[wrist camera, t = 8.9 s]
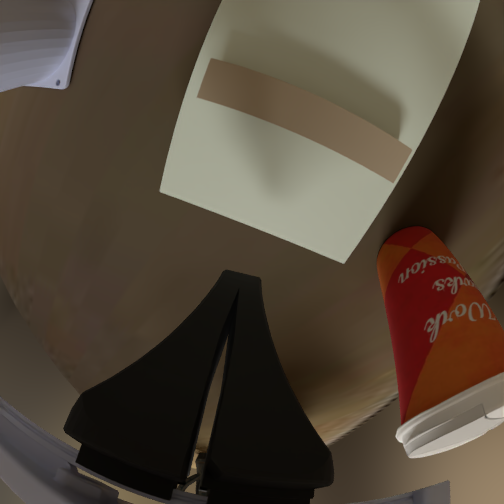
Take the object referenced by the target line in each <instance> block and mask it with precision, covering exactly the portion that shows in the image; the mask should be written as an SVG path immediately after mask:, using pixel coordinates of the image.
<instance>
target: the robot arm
mask: <svg viewBox="0 0 504 504" xmlns="http://www.w3.org/2000/svg"><path fill="white" fill-rule="evenodd" d="M92 2H93V0H0V92H3V91H6V90H9V89H13V88H16V87H20V86H36V87H46V88H55V89H65V88H67V87H68V86H69V83H70V78H71V73H72V68H73V64H74V60H75V56H76V52H77V48H78V44H79V41H80V37H81V34H82V31H83V27H84V24H85V21H86V18H87V15H88V13H89V10H90V7H91V5H92ZM59 81H60V84H59ZM228 334H229V335H228ZM227 337H228V342H227V350H226V357H225V365H224V373H223V381H222V387H221V393H220V397H219V402H218V406H217V411H216V415H215V419H214V424H213V428H212V432H211V437H210V441H209V445H208V450H207V454H206V458H205V463H204V467H203V471H202V476H201V480H200V484H199V489H198V490H199V491H204V492H206V496H201V495H197V494H192V493H188V492H184V491H181V490H177V485H178V484H180V485H184V486H185V484H186V480H187V476H189V474H190V470H191V465H192V461H193V456H194V452H195V448H196V443H197V439H198V435H199V431H200V426H201V422H202V418H203V414H204V410H205V406H206V401H207V397H208V393H209V389H210V386H211V383H212V380H213V377H214V374H215V371H216V368H217V365H218V363H219V360H220V357H221V354H222V351H223V348H224V345H225V343H226V340H227ZM63 429H64V431H65V433H66V434H68V435H69V436H71V437H72V438H74V439H75V440H77V441H78V442H80V443H81V444H82V445H81V448H80V450H77V449H75V448H73V447H71V446H70V445H68V444H66V443H65V442H63V441H61V440H59V439H58V438H56V437H54V436H53V435H51V434H50V433H48V432H47V431H45V430H43V429H42V428H41V427H39V426H38V425H36V424H35V423H33V422H32V421H31V420H29V419H27V418H26V417H25V416H24V415H22V414H21V413H20V412H18V411H17V410H15V409H14V408H13V407H12V406H11V405H10V404H9V403H8V402H6V401H5V400H4V399H3V398H2V397H0V478H1V479H2V480H3V481H4V482H5V483H6V484H7V486H8V487H9V488H10V489H11V490H12V491H13V492H14V493H15V494H16V495H18V497H20V499H22V500H23V501H24V502H25V503H26V504H132V503H129V502H127V501H124V500H121V499H118V495H119V492H118V491H117V490H115V489H113V488H111V487H109V486H107V485H106V484H104V483H102V482H100V481H97V480H95V479H93V478H90V477H88V476H85V475H83V474H80V473H78V470H77V467H78V468H80V469H82V470H84V471H86V472H87V473H89V474H91V475H93V476H95V477H98V478H100V479H102V480H104V481H106V482H108V483H110V484H113V485H115V486H118V487H120V488H122V489H125V490H127V491H130V492H132V493H135V494H138V495H141V496H143V497H147V498H149V499H152V500H155V501H159V502H162V503H165V504H310V499H312V498H313V497H314V489H316V488H322V487H326V486H330V485H331V484H332V483H333V481H334V468H333V460H332V455H331V452H330V450H329V449H328V447H327V446H326V445H325V443H324V442H323V441H322V439H321V438H320V436H319V435H318V433H317V432H316V430H315V429H314V427H313V426H312V424H311V422H310V421H309V419H308V418H307V416H306V414H305V413H304V411H303V409H302V407H301V405H300V403H299V402H298V400H297V398H296V396H295V394H294V392H293V390H292V388H291V386H290V384H289V382H288V380H287V377H286V375H285V373H284V371H283V368H282V366H281V363H280V361H279V358H278V355H277V352H276V350H275V347H274V343H273V340H272V337H271V334H270V330H269V326H268V322H267V318H266V314H265V309H264V303H263V297H262V288H261V279H260V278H259V277H255V276H251V275H247V274H243V273H238V272H234V271H230V270H225V271H223V272H222V274H221V276H220V278H219V279H218V281H217V282H216V284H215V285H214V286H213V288H212V289H211V290H210V292H209V293H208V294H207V296H206V297H205V298H204V299H203V300H202V302H201V303H200V304H199V305H198V306H197V307H196V309H195V310H194V311H193V312H192V313H191V314H190V315H189V316H188V317H187V318H186V319H185V320H184V321H183V322H182V323H181V324H180V325H179V326H178V327H177V328H176V329H175V330H174V331H173V332H172V333H171V334H170V335H169V336H167V337H166V338H165V339H164V340H163V341H162V342H160V343H159V344H158V345H157V346H156V347H154V348H153V349H152V350H150V351H149V352H148V353H147V354H145V355H144V356H143V357H141V358H140V359H138V360H137V361H136V362H134V363H133V364H131V365H130V366H128V367H126V368H125V369H123V370H122V371H120V372H119V373H117V374H116V375H114V376H112V377H111V378H109V379H107V380H105V381H103V382H102V383H100V384H98V385H96V386H94V387H92V388H90V389H88V390H86V391H84V392H83V393H82V394H81V395H80V397H79V398H78V400H77V401H76V403H75V405H74V406H73V407H72V409H71V412H70V414H69V416H68V418H67V421H66V423H65V425H64V428H63ZM349 504H450V482H449V481H448V480H447V481H444V482H442V483H438V484H435V485H432V486H429V487H426V488H422V489H419V490H416V491H412V492H409V493H405V494H400V495H396V496H392V497H388V498H383V499H377V500H371V501H364V502H357V503H349Z"/></svg>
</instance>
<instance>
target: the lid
mask: <svg viewBox="0 0 504 504" xmlns="http://www.w3.org/2000/svg"><path fill="white" fill-rule="evenodd" d="M479 2H480V0H222V2H221V4H220V6H219V8H218V11H217V13H216V15H215V17H214V19H213V22H212V24H211V26H210V29H209V31H208V34H207V36H206V38H205V41H204V43H203V46H202V49H201V51H200V54H199V56H198V59H197V62H196V65H195V67H194V70H193V73H192V76H191V79H190V82H189V85H188V88H187V91H186V94H185V97H184V100H183V103H182V106H181V110H180V113H179V116H178V120H177V123H176V127H175V130H174V134H173V138H172V141H171V145H170V149H169V153H168V157H167V161H166V165H165V169H164V174H163V178H162V183H161V187H160V192H162V193H164V194H167V195H170V196H173V197H175V198H178V199H181V200H183V201H186V202H189V203H191V204H194V205H197V206H199V207H202V208H205V209H207V210H210V211H213V212H215V213H218V214H221V215H223V216H226V217H228V218H231V219H234V220H236V221H239V222H241V223H244V224H247V225H249V226H252V227H254V228H257V229H259V230H262V231H264V232H267V233H269V234H272V235H274V236H277V237H279V238H282V239H284V240H287V241H289V242H292V243H294V244H297V245H299V246H302V247H304V248H307V249H309V250H312V251H314V252H317V253H319V254H321V255H324V256H326V257H329V258H331V259H334V260H336V261H338V262H341V263H343V264H344V263H345V261H346V260H347V259H348V257H349V256H350V254H351V253H352V251H353V250H354V249H355V247H356V246H357V244H358V243H359V241H360V240H361V238H362V237H363V235H364V234H365V233H366V231H367V230H368V228H369V227H370V225H371V223H372V222H373V220H374V219H375V217H376V216H377V214H378V213H379V211H380V210H381V208H382V207H383V205H384V203H385V202H386V200H387V199H388V197H389V195H390V194H391V192H392V190H393V189H394V187H395V186H396V184H397V182H398V181H399V179H400V177H401V176H402V174H403V172H404V170H405V169H406V167H407V165H408V163H409V162H410V160H411V158H412V156H413V155H414V153H415V151H416V149H417V147H418V146H419V144H420V142H421V140H422V138H423V136H424V134H425V133H426V131H427V129H428V127H429V125H430V123H431V121H432V119H433V117H434V115H435V113H436V111H437V109H438V107H439V105H440V103H441V101H442V98H443V96H444V94H445V92H446V90H447V88H448V85H449V83H450V81H451V79H452V76H453V74H454V72H455V69H456V67H457V65H458V62H459V60H460V57H461V55H462V52H463V50H464V47H465V44H466V42H467V39H468V36H469V33H470V30H471V27H472V24H473V21H474V18H475V15H476V12H477V9H478V5H479Z"/></svg>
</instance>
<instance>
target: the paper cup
mask: <svg viewBox="0 0 504 504" xmlns="http://www.w3.org/2000/svg"><path fill="white" fill-rule="evenodd" d="M377 270H378V276H379V280H380V285H381V289H382V294H383V298H384V303H385V308H386V313H387V318H388V323H389V329H390V334H391V340H392V346H393V352H394V359H395V366H396V373H397V382H398V391H399V401H400V413H401V426H400V427H399V428H398V430H397V433H396V438H397V439H398V441H399V442H401V443H403V445H404V448H405V450H406V454H407V456H409V458H419V457H424V456H429V455H433V454H437V453H440V452H443V451H447V450H450V449H452V448H455V447H458V446H460V445H462V444H464V443H467V442H469V441H471V440H473V439H476V438H478V437H479V436H481V435H483V434H485V433H486V432H487V431H488V430H489V429H493V428H495V427H497V426H498V425H500V424H501V423H503V422H504V331H503V329H502V327H501V325H500V324H499V322H498V320H497V318H496V317H495V315H494V314H493V312H492V310H491V308H490V307H489V305H488V304H487V302H486V300H485V299H484V297H483V296H482V294H481V293H480V291H479V290H478V288H477V287H476V285H475V284H474V282H473V281H472V280H471V278H470V277H469V275H468V274H467V273H466V271H465V270H464V269H463V267H462V266H461V265H460V263H459V262H458V261H457V259H456V258H455V257H454V256H453V254H452V253H451V252H450V251H449V249H448V248H447V247H446V246H445V245H444V243H443V242H442V241H441V240H440V239H439V238H438V237H437V236H436V235H435V234H434V233H433V232H432V231H431V230H429V229H427V228H425V227H421V226H411V227H407V228H404V229H401V230H399V231H397V232H396V233H394V234H393V235H392V236H390V237H389V238H388V239H387V240H386V241H385V243H384V244H383V245H382V247H381V249H380V251H379V253H378V257H377Z"/></svg>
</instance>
